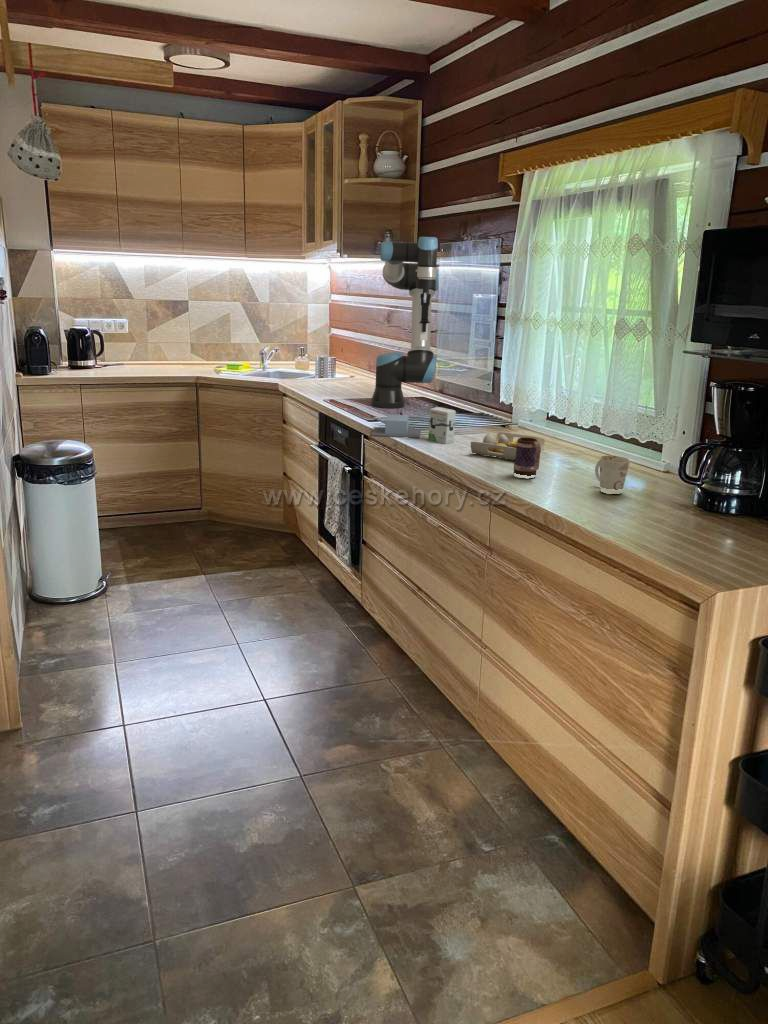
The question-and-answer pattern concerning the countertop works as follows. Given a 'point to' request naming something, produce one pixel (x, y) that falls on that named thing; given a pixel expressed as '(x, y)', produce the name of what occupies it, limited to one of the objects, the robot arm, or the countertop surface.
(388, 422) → the block
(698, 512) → the countertop surface
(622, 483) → the mug
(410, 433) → the mat
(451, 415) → the ink box
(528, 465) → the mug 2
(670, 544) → the countertop surface
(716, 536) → the countertop surface
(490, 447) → the toy food set
